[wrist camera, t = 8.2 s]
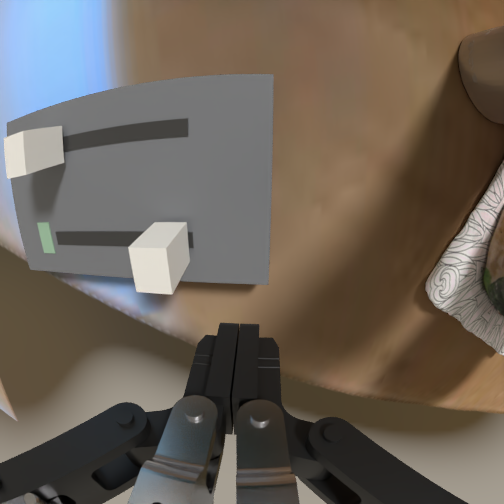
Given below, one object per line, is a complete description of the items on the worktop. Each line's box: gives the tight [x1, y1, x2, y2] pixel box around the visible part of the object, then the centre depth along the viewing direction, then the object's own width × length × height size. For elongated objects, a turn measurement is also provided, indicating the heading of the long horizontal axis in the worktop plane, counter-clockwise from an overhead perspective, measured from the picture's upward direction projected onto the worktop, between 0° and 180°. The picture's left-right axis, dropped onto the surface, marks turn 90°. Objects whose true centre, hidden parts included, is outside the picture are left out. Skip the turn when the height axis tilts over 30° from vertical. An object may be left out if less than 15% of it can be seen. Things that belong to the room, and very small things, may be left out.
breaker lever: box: [4, 126, 64, 179], centre depth 15 cm, size 2×3×4 cm
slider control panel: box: [7, 74, 273, 285], centre depth 21 cm, size 24×15×3 cm, turn 90°
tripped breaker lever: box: [128, 222, 190, 295], centre depth 18 cm, size 2×3×4 cm
